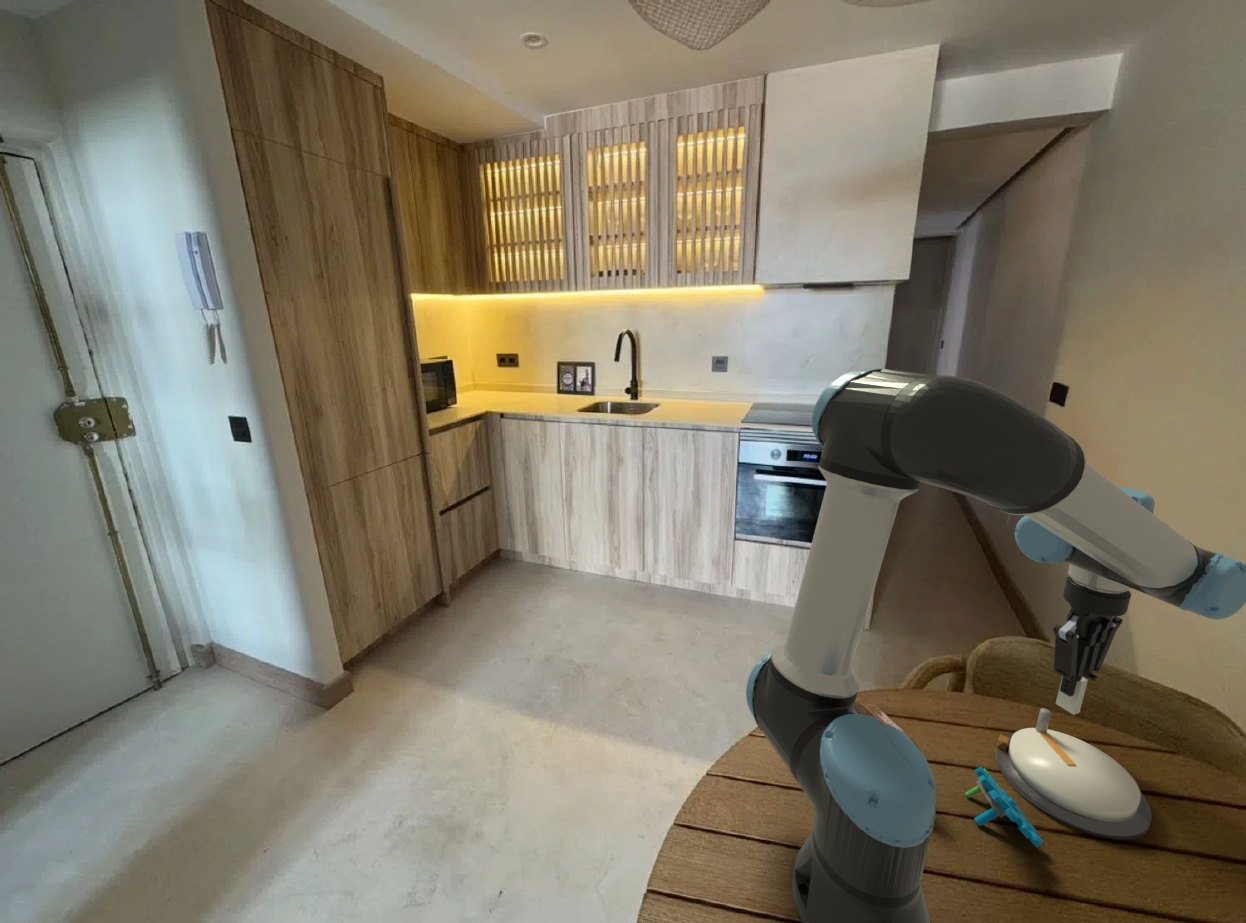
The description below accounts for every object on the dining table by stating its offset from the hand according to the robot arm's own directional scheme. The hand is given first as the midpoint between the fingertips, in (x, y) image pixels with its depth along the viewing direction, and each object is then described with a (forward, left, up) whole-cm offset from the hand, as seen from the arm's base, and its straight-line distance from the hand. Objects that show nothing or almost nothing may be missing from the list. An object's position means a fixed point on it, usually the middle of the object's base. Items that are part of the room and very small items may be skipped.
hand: (1067, 708), depth 84 cm
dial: (+2, -11, -5) cm, 12 cm away
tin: (-20, -28, -6) cm, 35 cm away
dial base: (+2, -11, -6) cm, 13 cm away
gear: (-4, -26, -6) cm, 27 cm away
